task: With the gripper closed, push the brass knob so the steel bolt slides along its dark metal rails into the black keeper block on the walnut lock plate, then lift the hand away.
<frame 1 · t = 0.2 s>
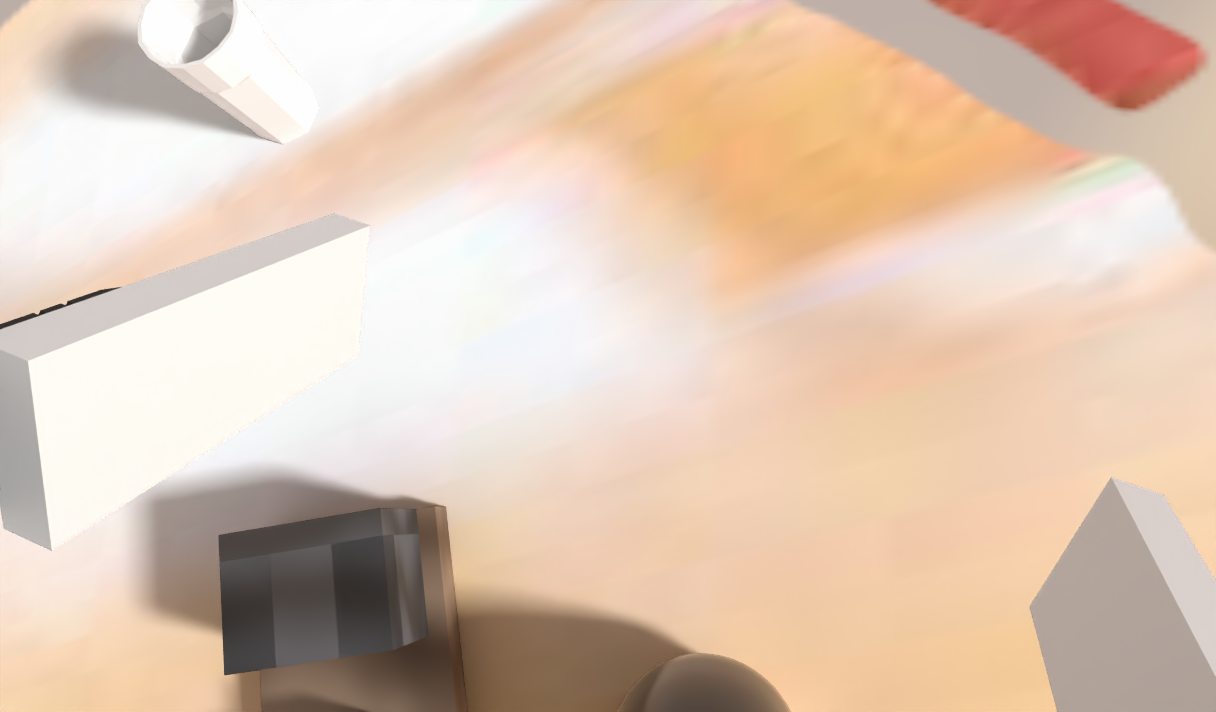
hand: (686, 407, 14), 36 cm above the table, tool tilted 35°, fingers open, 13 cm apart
cup: (286, 112, 58), on the table
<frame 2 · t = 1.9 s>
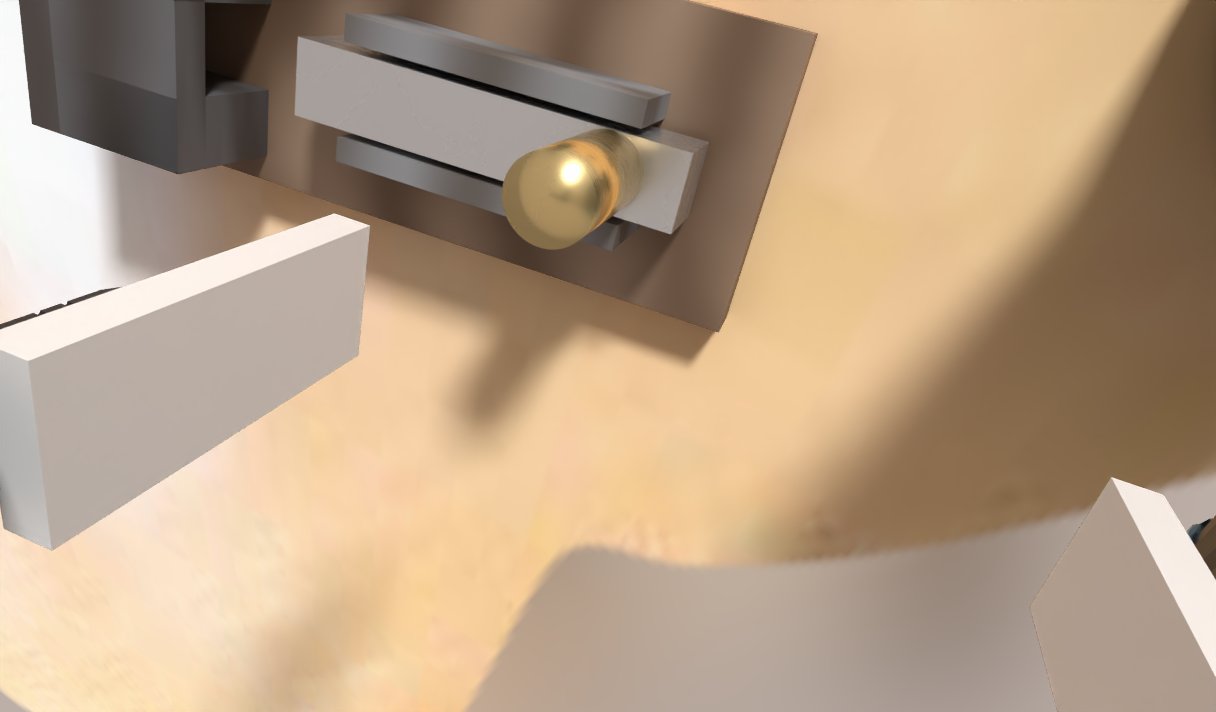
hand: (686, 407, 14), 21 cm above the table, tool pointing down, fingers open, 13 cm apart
lock frame: (453, 93, 35), on the table
bolt: (464, 137, 28), point 7 cm above the table, slide at 0.0 cm
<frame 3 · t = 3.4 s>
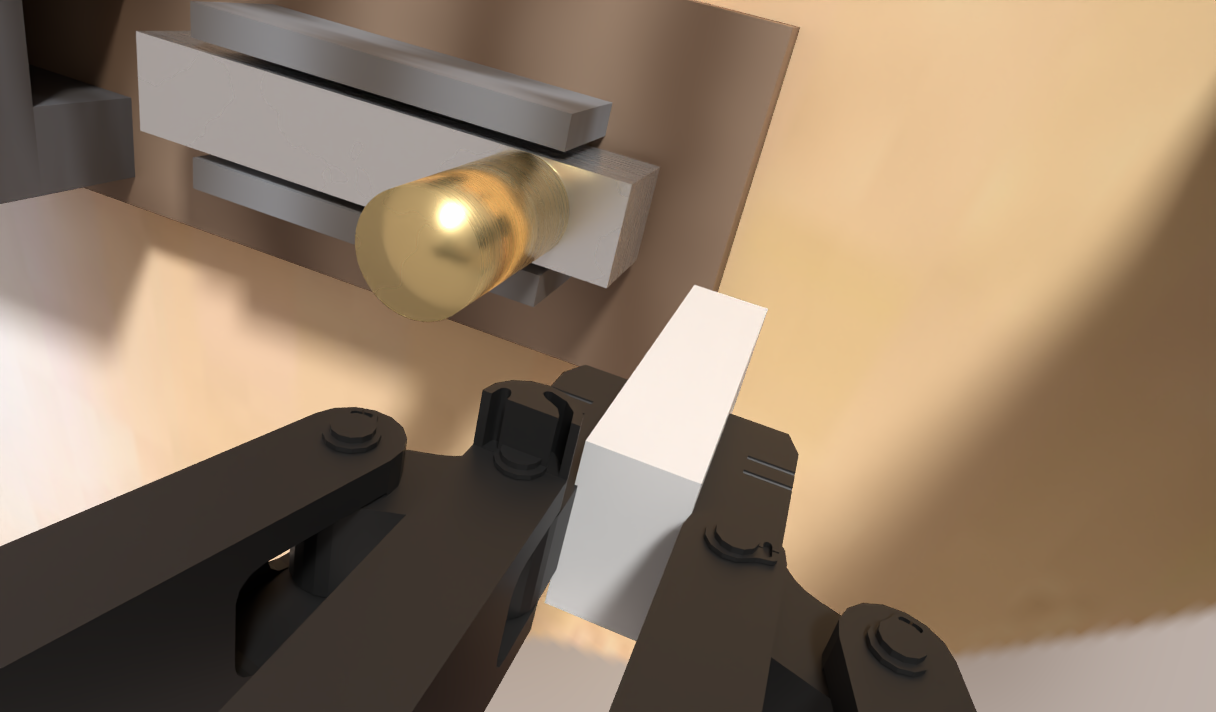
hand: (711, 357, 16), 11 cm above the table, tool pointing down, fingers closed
lock frame: (355, 102, 28), on the table
bolt: (336, 161, 22), point 7 cm above the table, slide at 0.0 cm
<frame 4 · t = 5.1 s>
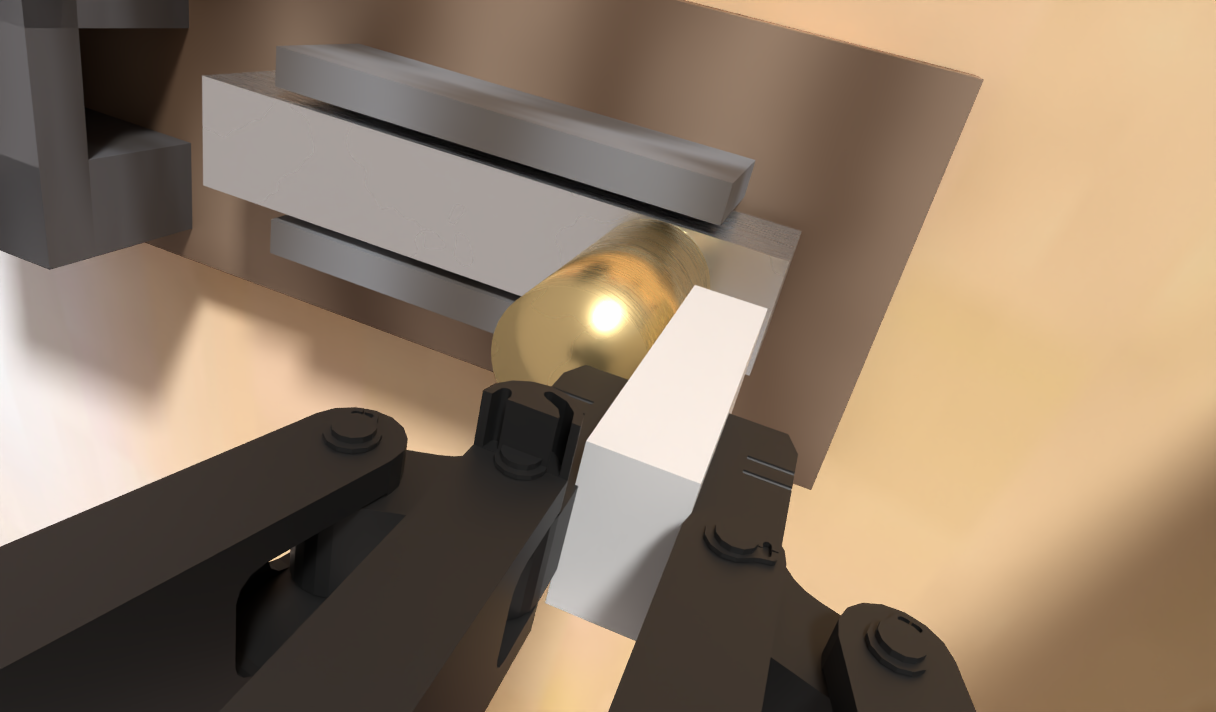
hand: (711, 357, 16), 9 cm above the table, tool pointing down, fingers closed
lock frame: (441, 148, 25), on the table
bolt: (439, 230, 19), point 7 cm above the table, slide at 0.3 cm, touching gripper
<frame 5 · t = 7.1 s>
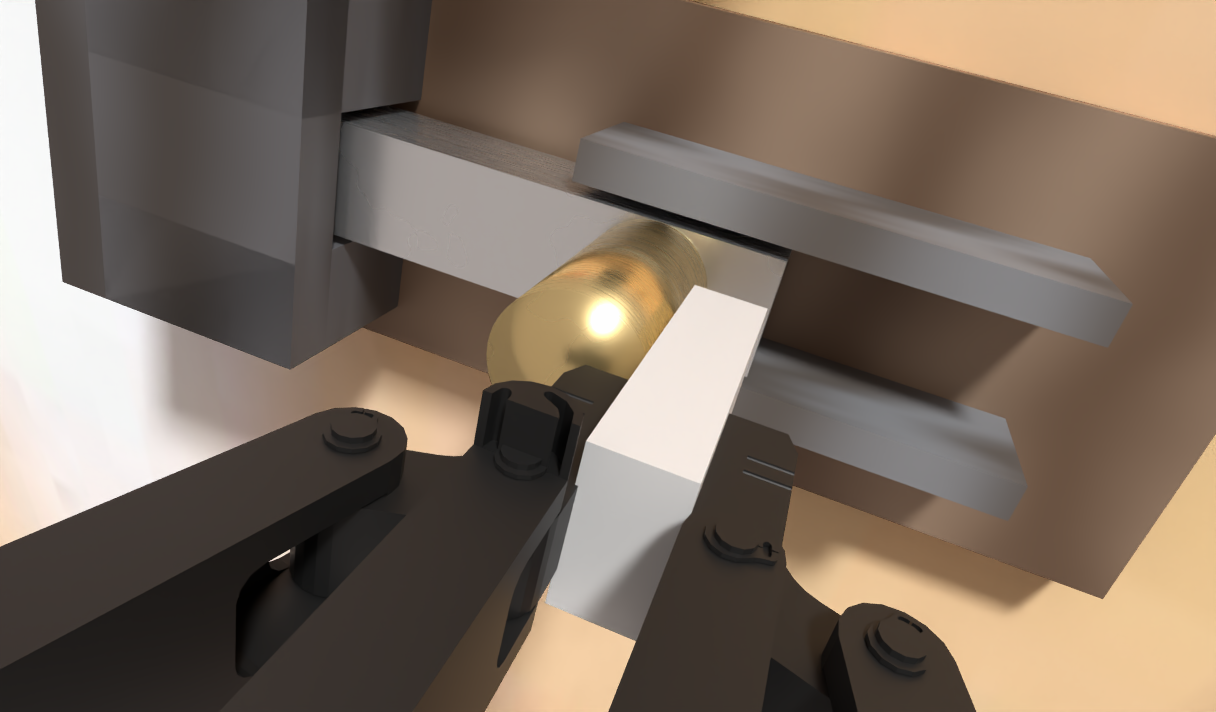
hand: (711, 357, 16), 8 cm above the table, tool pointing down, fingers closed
lock frame: (683, 226, 24), on the table
bolt: (432, 231, 18), point 7 cm above the table, slide at 8.7 cm, touching gripper
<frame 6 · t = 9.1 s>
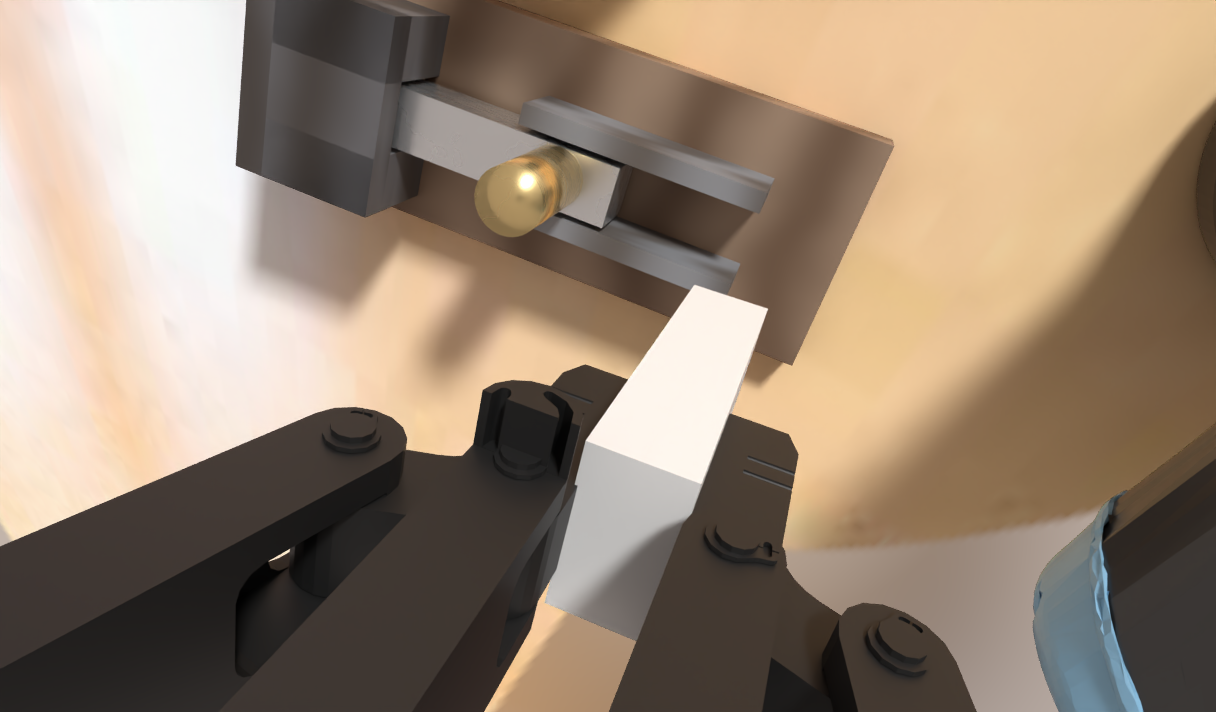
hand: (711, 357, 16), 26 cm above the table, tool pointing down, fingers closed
lock frame: (582, 156, 42), on the table
bolt: (447, 145, 37), point 7 cm above the table, slide at 8.7 cm
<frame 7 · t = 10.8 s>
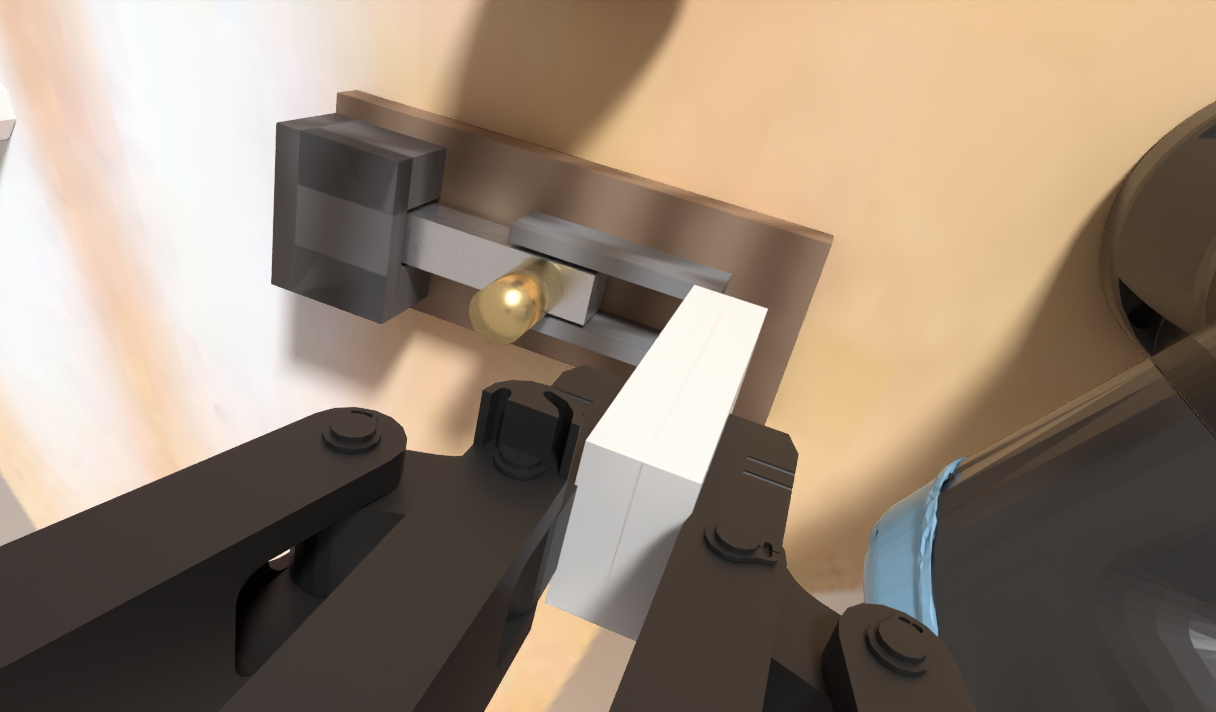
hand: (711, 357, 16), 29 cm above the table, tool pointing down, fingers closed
lock frame: (568, 256, 48), on the table
bolt: (447, 262, 43), point 7 cm above the table, slide at 8.7 cm
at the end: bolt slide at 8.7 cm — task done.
